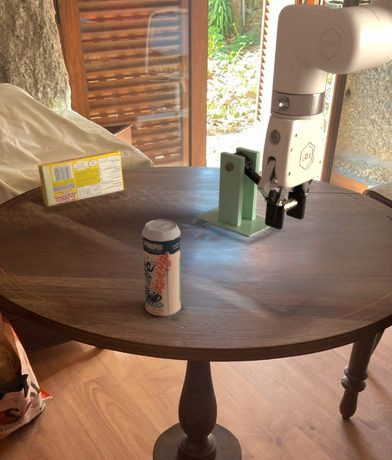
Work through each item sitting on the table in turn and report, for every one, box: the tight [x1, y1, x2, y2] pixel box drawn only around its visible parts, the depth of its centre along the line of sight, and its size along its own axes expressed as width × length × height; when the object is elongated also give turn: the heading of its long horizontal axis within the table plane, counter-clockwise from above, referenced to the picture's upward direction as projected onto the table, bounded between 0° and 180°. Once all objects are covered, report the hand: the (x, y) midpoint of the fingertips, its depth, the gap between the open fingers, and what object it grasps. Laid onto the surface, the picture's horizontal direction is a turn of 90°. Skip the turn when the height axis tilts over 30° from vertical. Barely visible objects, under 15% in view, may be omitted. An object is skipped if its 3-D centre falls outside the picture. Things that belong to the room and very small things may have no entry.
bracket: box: [196, 146, 271, 238], centre depth 97 cm, size 12×8×13 cm, turn 47°
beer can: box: [141, 218, 182, 317], centre depth 73 cm, size 5×5×12 cm
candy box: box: [37, 150, 125, 212], centre depth 107 cm, size 16×2×8 cm, turn 126°
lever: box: [232, 151, 299, 212], centre depth 93 cm, size 13×5×2 cm, turn 47°
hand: (284, 220), depth 93 cm, fingers closed on lever, 5 cm apart
